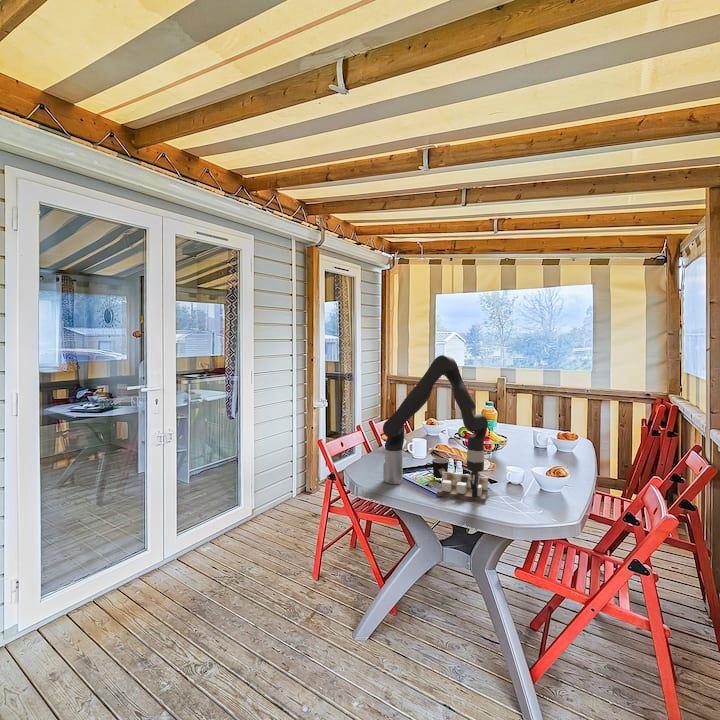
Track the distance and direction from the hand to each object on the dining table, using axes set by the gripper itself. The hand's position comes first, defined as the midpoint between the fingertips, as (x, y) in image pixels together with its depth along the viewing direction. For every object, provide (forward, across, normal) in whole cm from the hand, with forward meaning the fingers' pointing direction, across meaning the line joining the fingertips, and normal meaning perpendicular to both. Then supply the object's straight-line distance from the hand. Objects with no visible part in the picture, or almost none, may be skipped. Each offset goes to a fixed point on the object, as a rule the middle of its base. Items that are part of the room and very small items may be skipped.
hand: (474, 496), depth 187 cm
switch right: (+1, -6, 0) cm, 6 cm away
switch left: (+1, -6, -14) cm, 15 cm away
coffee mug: (+4, -26, -23) cm, 35 cm away
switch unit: (+4, -9, -7) cm, 12 cm away
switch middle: (+1, -6, -7) cm, 9 cm away
